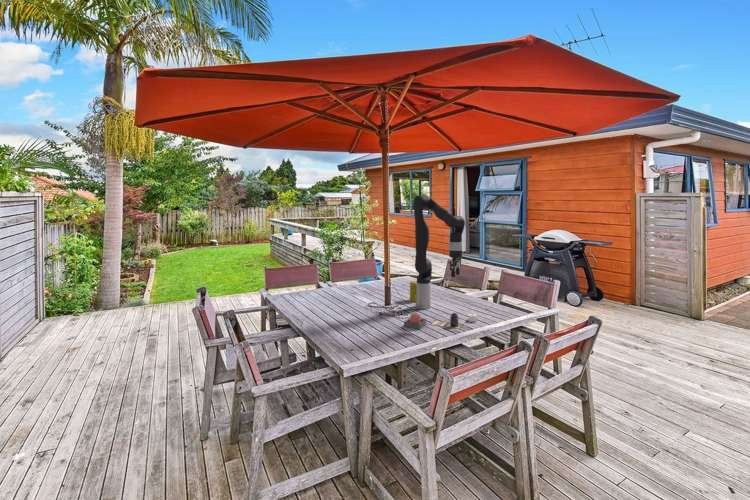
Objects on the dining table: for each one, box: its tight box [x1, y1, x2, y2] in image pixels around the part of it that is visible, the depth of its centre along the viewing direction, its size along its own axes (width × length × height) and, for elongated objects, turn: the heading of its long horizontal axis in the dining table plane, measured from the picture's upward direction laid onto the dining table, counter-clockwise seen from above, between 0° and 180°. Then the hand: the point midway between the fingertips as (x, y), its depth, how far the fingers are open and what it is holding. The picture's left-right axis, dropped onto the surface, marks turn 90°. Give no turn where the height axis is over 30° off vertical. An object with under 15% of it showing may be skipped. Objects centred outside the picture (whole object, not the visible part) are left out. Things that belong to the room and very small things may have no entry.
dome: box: [409, 312, 422, 323], centre depth 210 cm, size 6×6×6 cm
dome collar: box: [403, 317, 427, 330], centre depth 211 cm, size 10×10×4 cm
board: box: [428, 319, 465, 330], centre depth 212 cm, size 18×10×1 cm, turn 60°
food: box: [409, 280, 417, 303], centre depth 269 cm, size 15×12×10 cm
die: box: [468, 313, 478, 323], centre depth 218 cm, size 4×4×4 cm
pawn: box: [449, 312, 459, 327], centre depth 209 cm, size 4×4×7 cm
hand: (455, 275), depth 225 cm, fingers open, 8 cm apart
